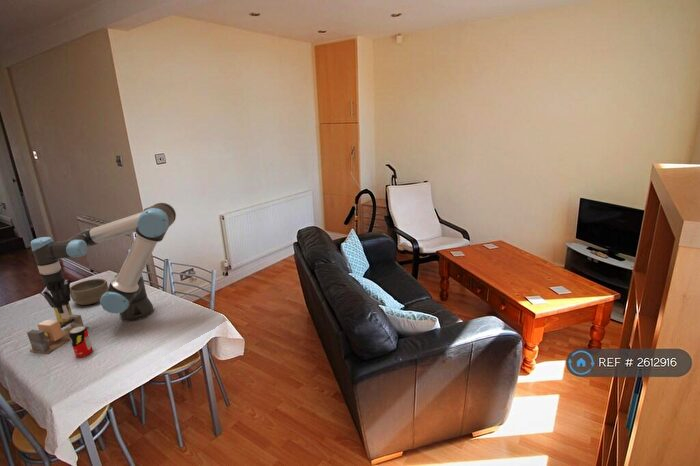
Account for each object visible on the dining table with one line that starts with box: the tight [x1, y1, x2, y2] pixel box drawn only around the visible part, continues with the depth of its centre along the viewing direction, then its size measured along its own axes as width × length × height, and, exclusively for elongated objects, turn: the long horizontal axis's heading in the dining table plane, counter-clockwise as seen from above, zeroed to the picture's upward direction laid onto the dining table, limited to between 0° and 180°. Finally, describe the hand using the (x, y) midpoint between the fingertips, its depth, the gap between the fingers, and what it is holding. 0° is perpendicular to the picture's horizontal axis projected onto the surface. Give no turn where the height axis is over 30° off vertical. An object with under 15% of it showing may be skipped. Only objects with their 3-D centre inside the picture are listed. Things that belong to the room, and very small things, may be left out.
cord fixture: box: [26, 313, 89, 355], centre depth 166 cm, size 20×10×10 cm, turn 168°
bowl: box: [70, 278, 109, 306], centre depth 201 cm, size 17×18×10 cm
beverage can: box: [69, 325, 93, 358], centre depth 155 cm, size 6×6×12 cm
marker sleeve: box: [37, 319, 63, 341], centre depth 163 cm, size 7×4×8 cm, turn 78°
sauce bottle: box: [53, 301, 73, 325], centre depth 179 cm, size 6×6×20 cm
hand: (65, 317), depth 169 cm, fingers closed
